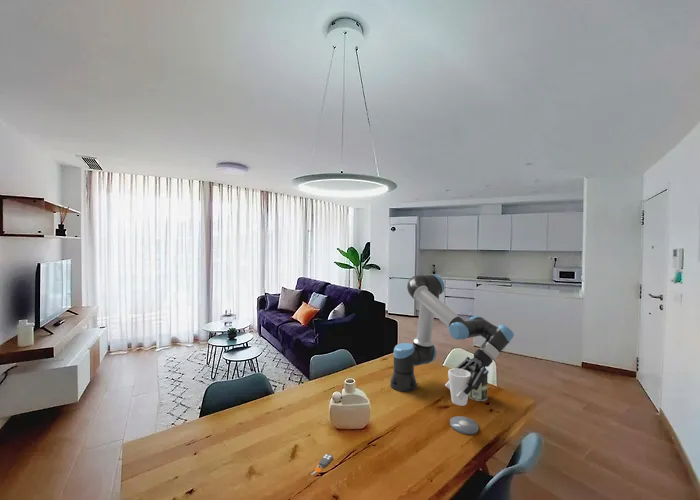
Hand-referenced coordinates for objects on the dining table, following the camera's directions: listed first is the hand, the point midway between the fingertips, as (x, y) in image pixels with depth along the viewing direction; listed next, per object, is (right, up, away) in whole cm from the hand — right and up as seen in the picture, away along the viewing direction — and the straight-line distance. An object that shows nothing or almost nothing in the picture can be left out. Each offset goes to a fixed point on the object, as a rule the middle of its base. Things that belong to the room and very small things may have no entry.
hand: (452, 392), depth 134 cm
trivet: (+6, -17, +3) cm, 18 cm away
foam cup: (+3, -5, +1) cm, 6 cm away
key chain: (-56, -17, -23) cm, 63 cm away
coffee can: (+23, -17, +31) cm, 42 cm away
